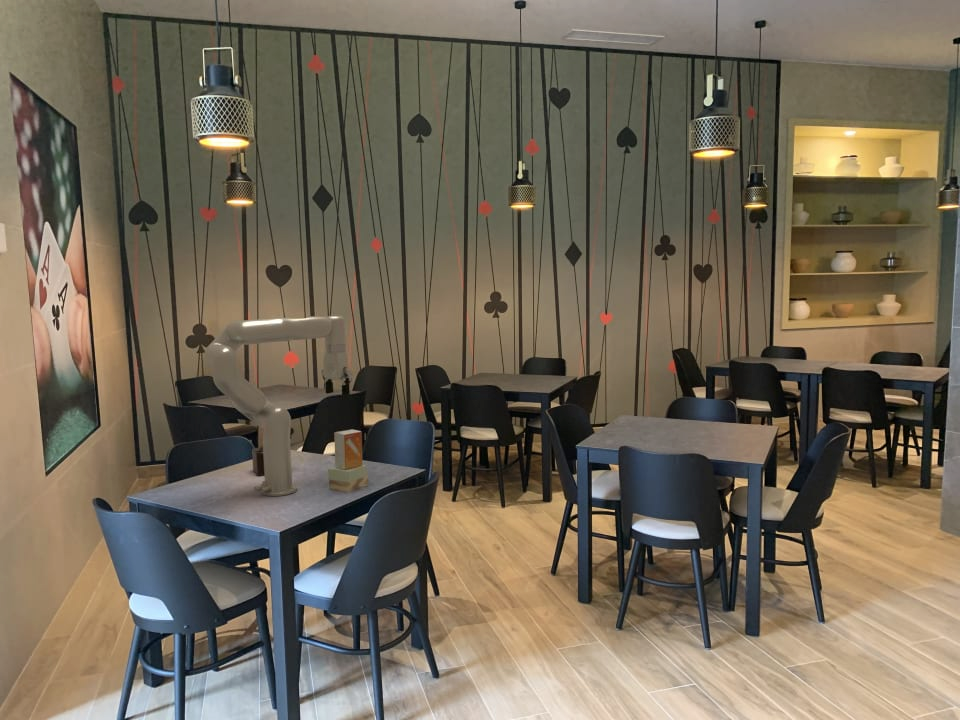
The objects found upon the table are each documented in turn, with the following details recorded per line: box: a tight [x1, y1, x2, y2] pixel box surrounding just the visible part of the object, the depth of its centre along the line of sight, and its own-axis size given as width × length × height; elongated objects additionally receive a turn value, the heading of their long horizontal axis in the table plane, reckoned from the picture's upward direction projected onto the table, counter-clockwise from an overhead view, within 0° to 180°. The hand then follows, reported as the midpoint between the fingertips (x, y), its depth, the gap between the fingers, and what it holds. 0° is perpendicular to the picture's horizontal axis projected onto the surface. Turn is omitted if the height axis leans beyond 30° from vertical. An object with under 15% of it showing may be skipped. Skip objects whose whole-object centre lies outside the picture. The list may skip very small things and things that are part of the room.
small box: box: [333, 428, 363, 470], centre depth 269 cm, size 8×6×13 cm
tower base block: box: [328, 475, 370, 493], centre depth 270 cm, size 10×10×4 cm
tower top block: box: [327, 464, 368, 483], centre depth 270 cm, size 10×10×4 cm
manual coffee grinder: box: [251, 427, 295, 477], centre depth 296 cm, size 16×11×18 cm
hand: (337, 394), depth 277 cm, fingers open, 9 cm apart
